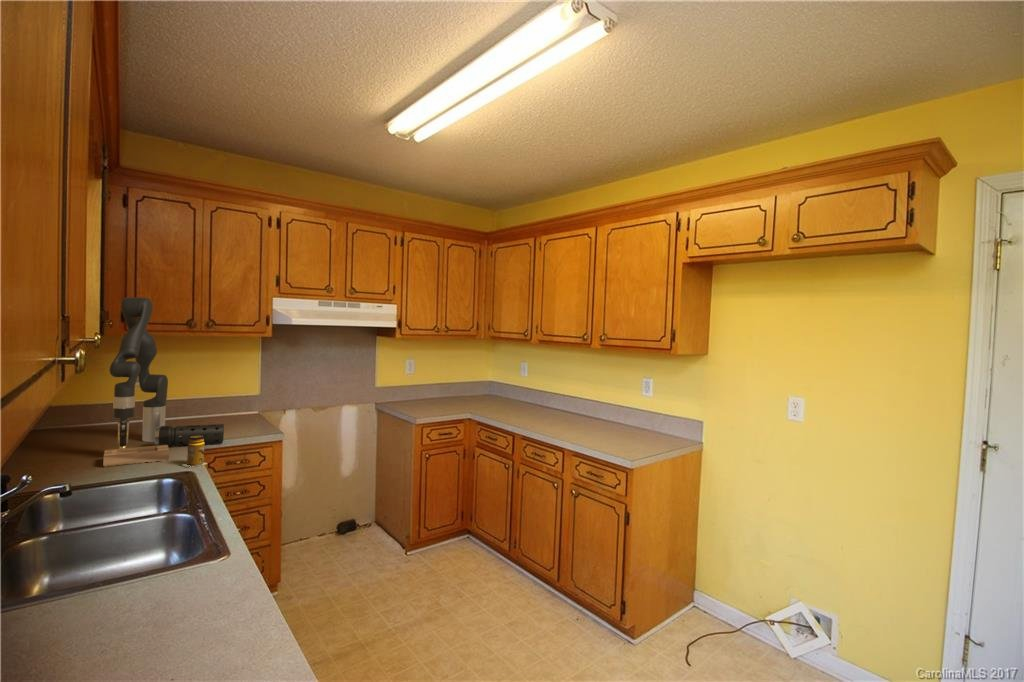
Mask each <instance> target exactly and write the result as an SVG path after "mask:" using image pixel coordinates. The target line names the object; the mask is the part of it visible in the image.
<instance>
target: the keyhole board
mask: <svg viewBox="0 0 1024 682" xmlns="http://www.w3.org/2000/svg"><path fill="white" fill-rule="evenodd" d="M169 448H170V447H169V446H168V445H152V446H151V445H150V446H139V447H137V446H136V447H126V448H124V449H119V448H116V449H115V448H114V449H105V450H104V453H103V465H102V467H103V466H107V465H116V464H125V463H138V462H151V461H162V462H164V461H163V460H169V461H170V449H169Z"/></svg>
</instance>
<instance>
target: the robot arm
mask: <svg viewBox="0 0 1024 682" xmlns="http://www.w3.org/2000/svg"><path fill="white" fill-rule="evenodd" d="M120 304H121V305H120V306H121V312H122V315H123V318H124V321H125V325H126V327H127V330H128V331H127V332H126V333H125V334H124V335H123V336H122V339H121V342H120V346H119V349H118V353H117V354H116V355H115V358H114V359H113V361H112V362H111V364H110V366H109V374H110V375H111V376H112V377H114V378H127V380H126V381H123V382H117V383H116V384H115V385H114V389H113V390H114V393H113V394H114V396H113V404H112V405H113V406H112V417H113V419H120V420H118V421H117V433H118V432H119V433H120V436H119V437H120V447H122V446H126V447H127V445H126V438H127V432H128V433H129V431H128V426H130V420H128V418H134V417H135V414H136V413H135V411H136V399H135V390H136V388H135V387H136V384H137V380H138V383H139V384H138V385H139V388H140V390H141V391H142V392H143V393H145V394H147V393H150V394H151V393H154V394H155V396H153V397H152V398H150V399H149V398H148V399H145V400H144V401H143V403H142V404H143V405H142V434H141V436H142V437H141V441H142V442H151V443H153V442H154V443H155V441H154V438H155V429H156V428H158V427H161V426H166V413H167V412H166V407H167V405H166V403H167V399H168V398H167V397H168V387H169V379H168V377H167V375H166V374H155V373H154V374H151V373H150V365H151V363H152V362H153V360H154V359H155V357H156V356H157V353H158V350H157V343H156V340H155V338H154V336H153V335H152V334H151V333H149V331H148V330H147V327H148V325H149V322H150V319H151V317H152V314H153V310H154V304H153V301H152V300H151V299H150V298H149V297H137V296H136V297H135V296H133V297H130V296H128V297H124V298H122V299H121V302H120ZM132 359H135V361H132ZM121 433H125V434H122V435H121Z"/></svg>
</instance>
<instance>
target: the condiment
mask: <svg viewBox="0 0 1024 682" xmlns="http://www.w3.org/2000/svg"><path fill="white" fill-rule="evenodd" d="M205 446H206V444H205V443H204V436H200V435H198V436H191V437H190V438H189V443H188V444H187V460H186V461H187V462H186V463H188V464H187V465H190V467H189V468H194V467H200V466H204V465H208V462H205ZM191 466H192V467H191Z"/></svg>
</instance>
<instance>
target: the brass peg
mask: <svg viewBox="0 0 1024 682" xmlns="http://www.w3.org/2000/svg"><path fill="white" fill-rule="evenodd" d="M129 426H130V425H129ZM129 426H128V432H127V438H126V446H122V447H120V437H119V436H120V433H119V432H118V431H117V446H119V448H118V449H124V448H127V445H129V429H130V428H129ZM122 434H125V433H121V435H122Z"/></svg>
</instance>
